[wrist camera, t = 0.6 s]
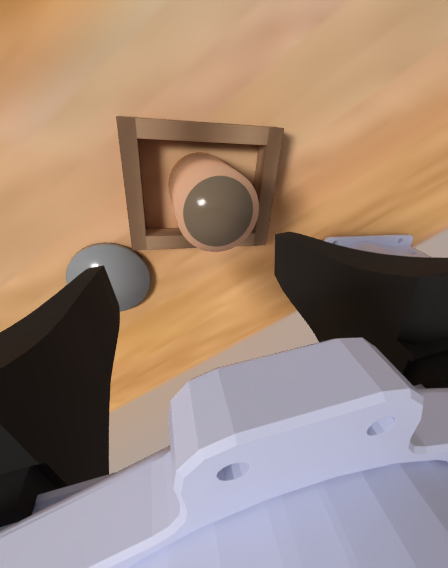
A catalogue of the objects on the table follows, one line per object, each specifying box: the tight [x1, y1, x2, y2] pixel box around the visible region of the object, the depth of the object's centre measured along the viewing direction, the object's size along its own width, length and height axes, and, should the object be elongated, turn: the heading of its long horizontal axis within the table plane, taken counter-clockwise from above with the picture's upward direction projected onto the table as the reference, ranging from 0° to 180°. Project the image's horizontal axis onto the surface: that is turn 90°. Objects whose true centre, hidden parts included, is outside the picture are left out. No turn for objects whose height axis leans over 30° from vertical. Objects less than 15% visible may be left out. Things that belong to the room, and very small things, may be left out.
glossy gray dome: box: [66, 243, 150, 312], centre depth 21 cm, size 6×6×1 cm
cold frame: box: [116, 116, 284, 250], centre depth 19 cm, size 10×8×2 cm
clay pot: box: [168, 152, 259, 252], centre depth 17 cm, size 4×4×6 cm
